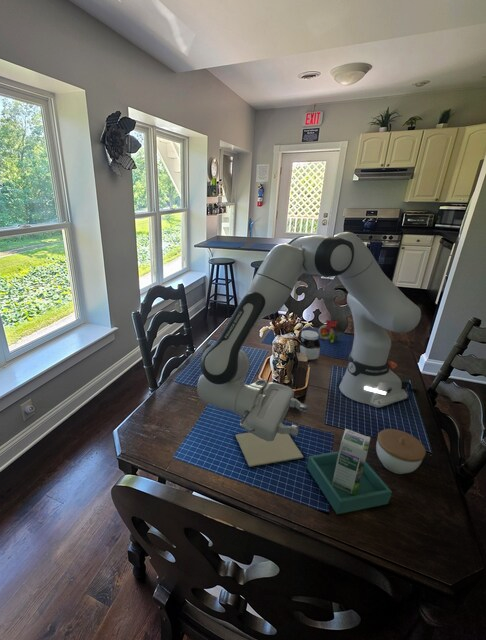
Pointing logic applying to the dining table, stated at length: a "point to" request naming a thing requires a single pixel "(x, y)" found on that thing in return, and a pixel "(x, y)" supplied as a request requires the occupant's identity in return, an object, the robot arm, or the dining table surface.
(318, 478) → the teal green tray
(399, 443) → the trinket box
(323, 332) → the bird rattle
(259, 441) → the felt mat
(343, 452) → the syrup box
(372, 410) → the dining table surface
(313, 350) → the spread jar
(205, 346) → the decorative egg
